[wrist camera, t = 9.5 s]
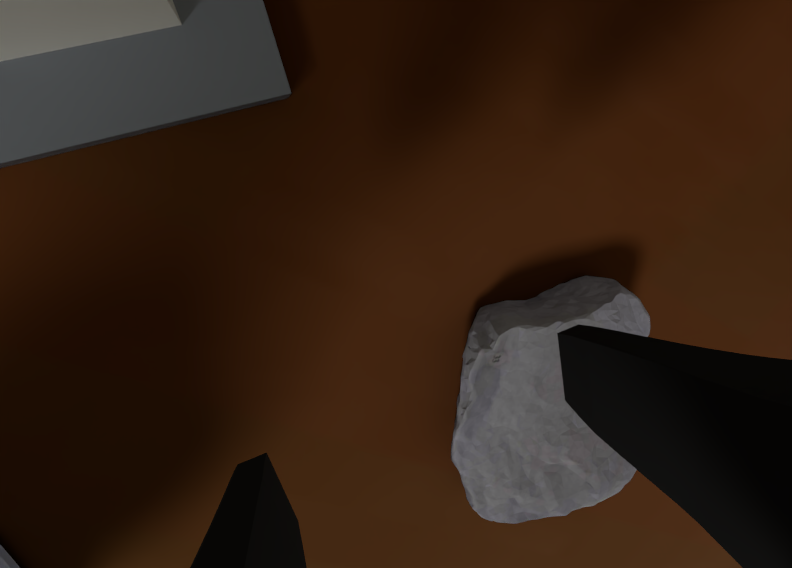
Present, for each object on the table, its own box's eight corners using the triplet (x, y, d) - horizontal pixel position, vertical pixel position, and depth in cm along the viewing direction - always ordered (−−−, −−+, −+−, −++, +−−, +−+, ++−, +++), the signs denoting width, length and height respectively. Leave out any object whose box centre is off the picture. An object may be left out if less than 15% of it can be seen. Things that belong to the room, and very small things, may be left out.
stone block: (445, 477, 26) (603, 447, 26) (465, 547, 21) (657, 510, 22) (422, 293, 22) (606, 263, 23) (441, 330, 18) (671, 292, 18)
